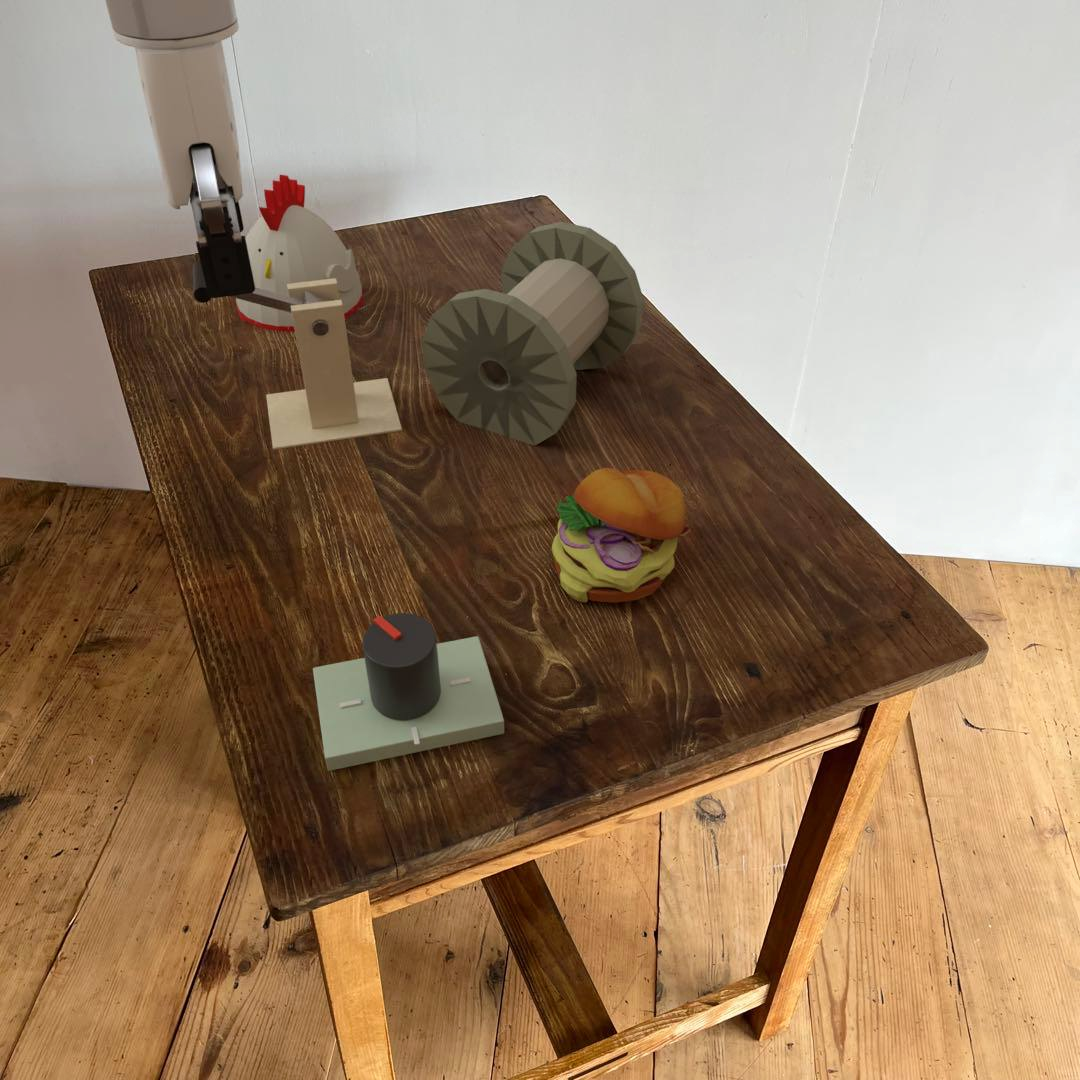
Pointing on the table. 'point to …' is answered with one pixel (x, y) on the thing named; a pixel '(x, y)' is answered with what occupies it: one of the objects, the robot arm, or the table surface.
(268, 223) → the kitchen timer
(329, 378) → the wooden stand
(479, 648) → the dial panel
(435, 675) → the knob
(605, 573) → the cheeseburger
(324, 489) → the table surface
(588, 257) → the spool
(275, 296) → the lever
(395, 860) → the table surface
